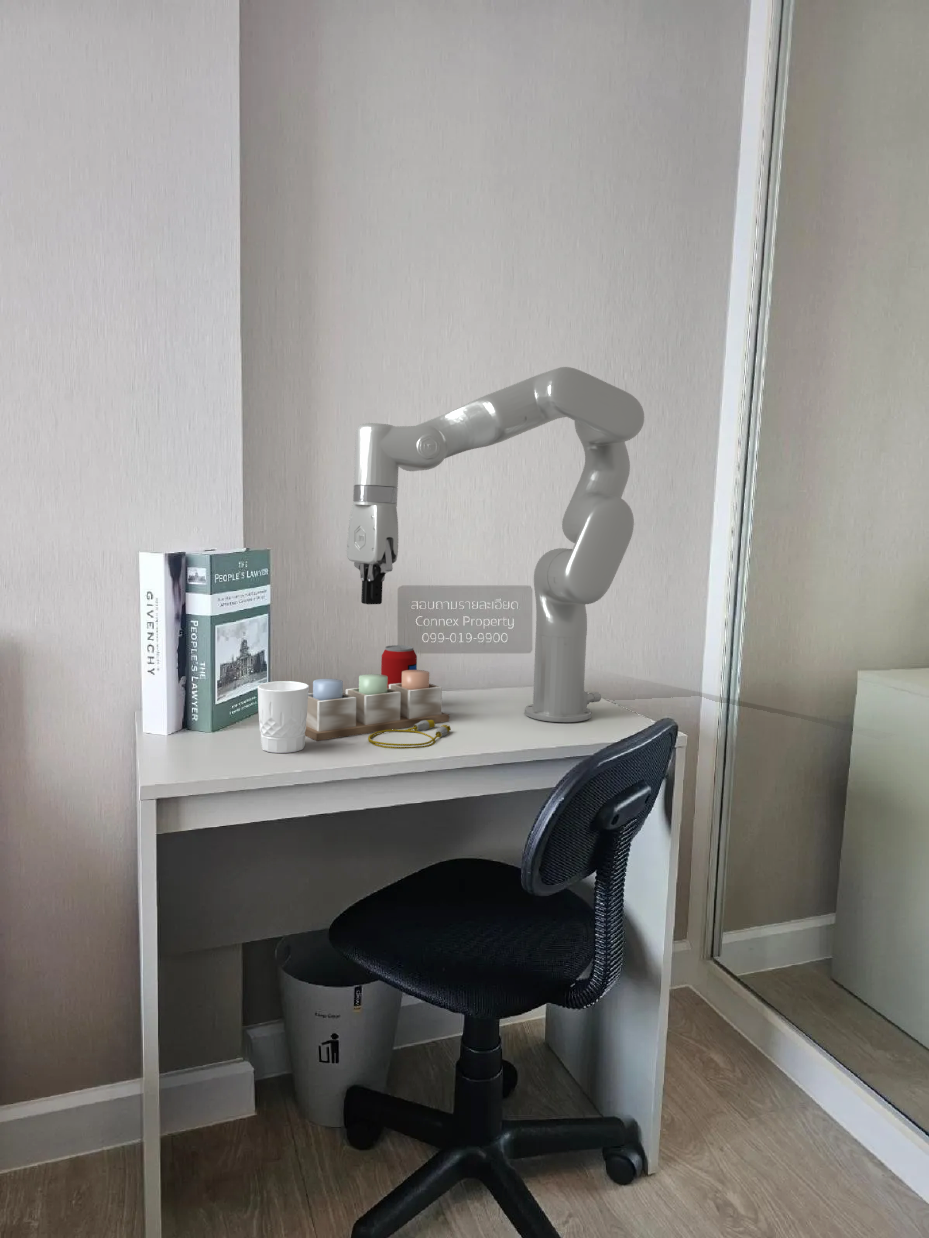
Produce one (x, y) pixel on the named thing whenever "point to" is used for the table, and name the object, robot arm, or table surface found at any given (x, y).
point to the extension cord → (417, 727)
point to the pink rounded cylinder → (415, 679)
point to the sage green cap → (373, 684)
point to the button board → (373, 711)
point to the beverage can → (397, 662)
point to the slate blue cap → (327, 689)
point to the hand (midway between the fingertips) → (371, 603)
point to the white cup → (282, 715)
